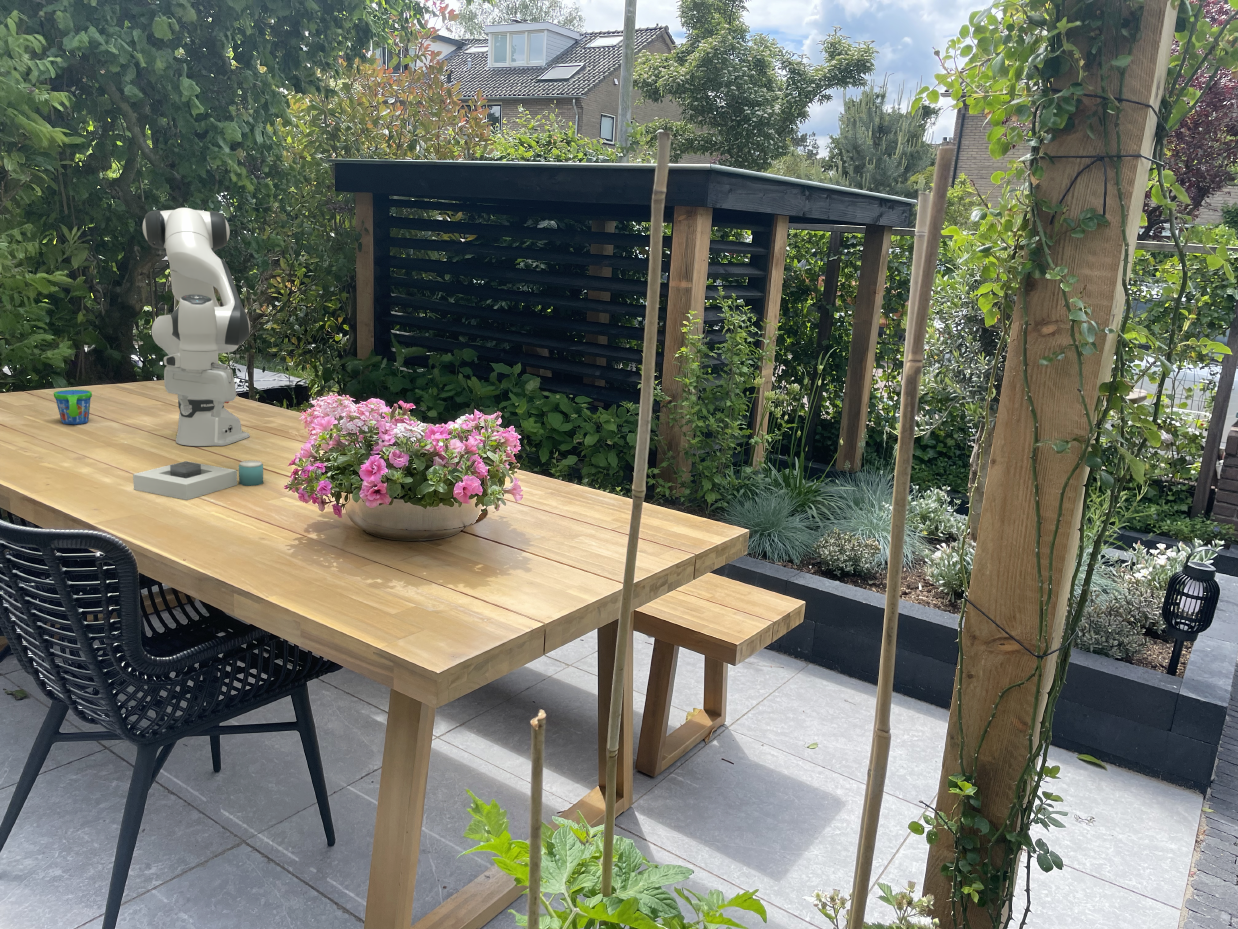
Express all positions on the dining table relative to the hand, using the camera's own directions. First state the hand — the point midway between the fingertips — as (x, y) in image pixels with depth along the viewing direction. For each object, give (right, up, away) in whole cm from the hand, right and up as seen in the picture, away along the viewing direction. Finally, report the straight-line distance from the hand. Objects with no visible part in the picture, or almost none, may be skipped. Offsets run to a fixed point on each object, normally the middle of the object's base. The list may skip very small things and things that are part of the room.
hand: (201, 414), depth 227 cm
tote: (-5, -19, +2) cm, 19 cm away
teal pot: (+9, -18, +10) cm, 22 cm away
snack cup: (-71, +1, +62) cm, 94 cm away
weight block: (-5, -18, +2) cm, 18 cm away
